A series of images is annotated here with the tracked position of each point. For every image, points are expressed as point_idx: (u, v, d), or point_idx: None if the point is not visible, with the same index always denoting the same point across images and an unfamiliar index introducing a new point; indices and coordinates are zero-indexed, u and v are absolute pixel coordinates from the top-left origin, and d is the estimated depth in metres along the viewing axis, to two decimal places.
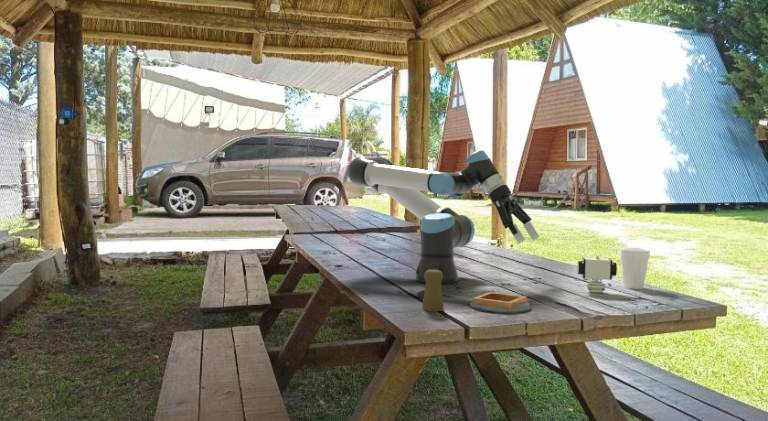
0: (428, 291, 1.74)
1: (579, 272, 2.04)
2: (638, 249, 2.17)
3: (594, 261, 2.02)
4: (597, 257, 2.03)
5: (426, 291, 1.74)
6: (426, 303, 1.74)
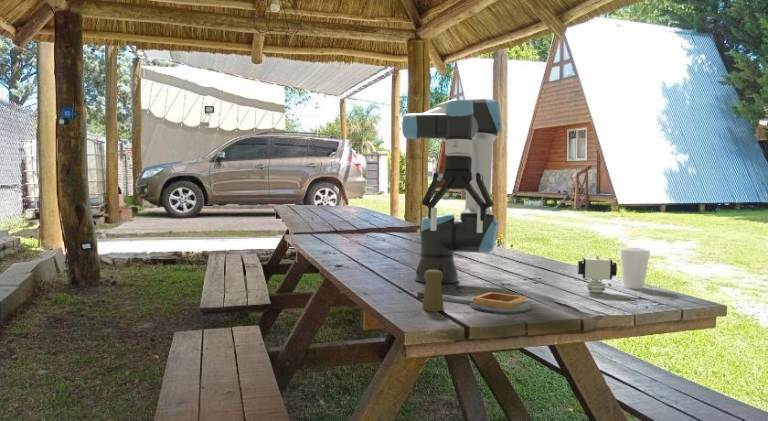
0: (428, 291, 1.74)
1: (579, 272, 2.04)
2: (638, 249, 2.17)
3: (594, 261, 2.02)
4: (597, 257, 2.03)
5: (426, 291, 1.74)
6: (426, 303, 1.74)
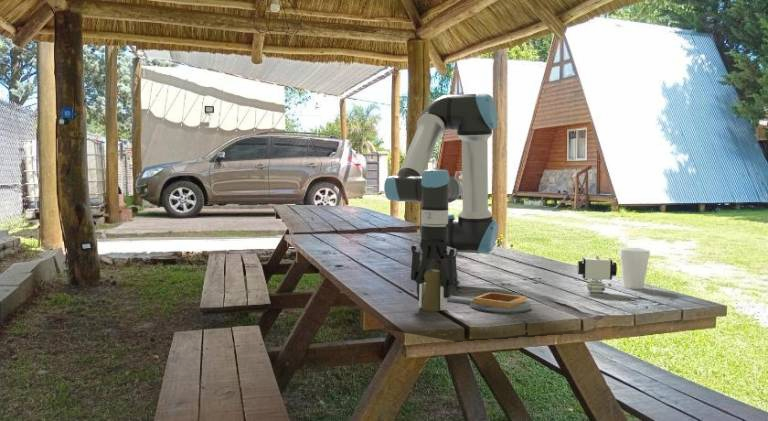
0: (428, 291, 1.74)
1: (579, 272, 2.04)
2: (638, 249, 2.17)
3: (594, 261, 2.02)
4: (597, 257, 2.03)
5: (426, 291, 1.74)
6: (426, 303, 1.74)
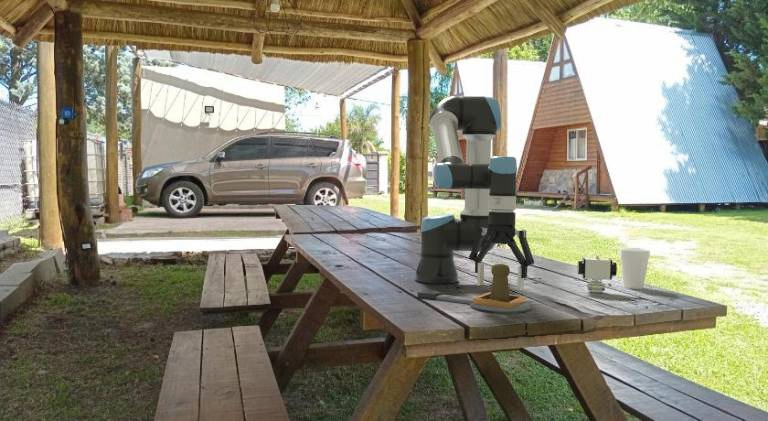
0: (496, 285, 1.77)
1: (579, 272, 2.04)
2: (638, 249, 2.17)
3: (594, 261, 2.02)
4: (597, 257, 2.03)
5: (493, 285, 1.78)
6: (494, 297, 1.78)
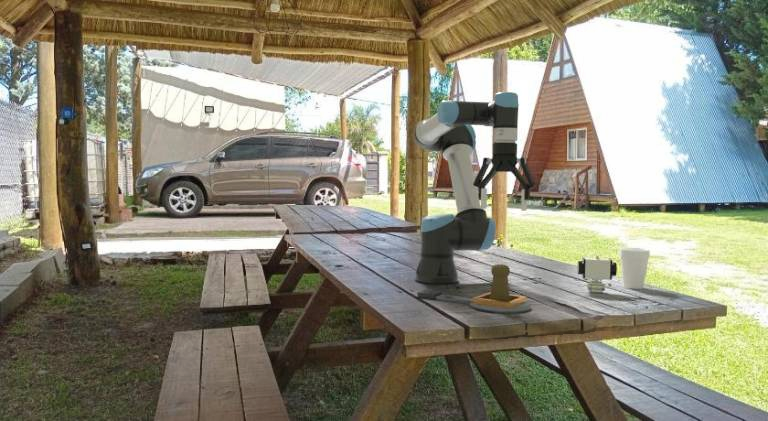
0: (496, 286, 1.77)
1: (579, 272, 2.04)
2: (638, 249, 2.17)
3: (594, 261, 2.02)
4: (597, 257, 2.03)
5: (494, 285, 1.78)
6: (494, 297, 1.78)
